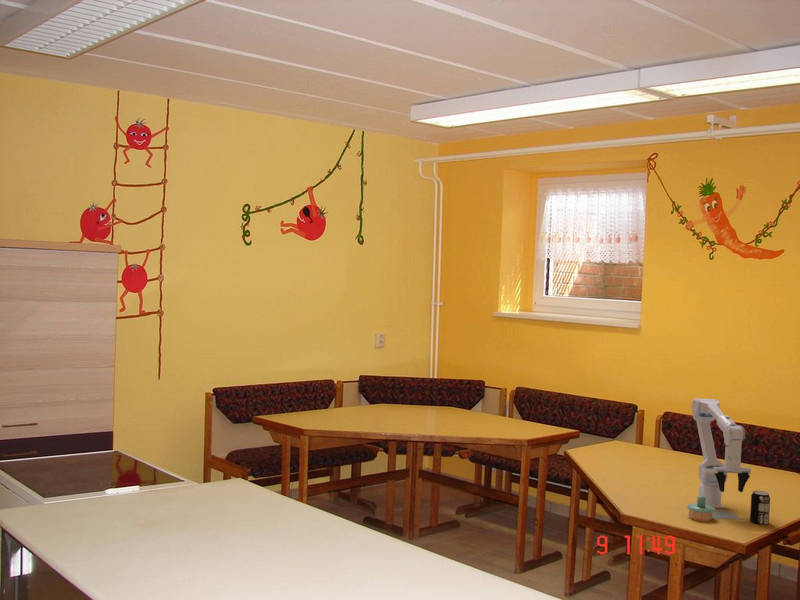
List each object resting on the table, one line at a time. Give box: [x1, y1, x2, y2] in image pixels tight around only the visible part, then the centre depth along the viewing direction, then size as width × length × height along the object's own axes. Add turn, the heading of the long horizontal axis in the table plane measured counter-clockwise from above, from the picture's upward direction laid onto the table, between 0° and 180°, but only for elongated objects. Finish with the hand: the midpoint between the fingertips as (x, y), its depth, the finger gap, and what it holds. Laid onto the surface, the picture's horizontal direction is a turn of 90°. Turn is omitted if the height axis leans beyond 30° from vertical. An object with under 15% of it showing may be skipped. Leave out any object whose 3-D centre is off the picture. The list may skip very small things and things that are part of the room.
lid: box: [686, 495, 716, 513], centre depth 313 cm, size 10×10×5 cm
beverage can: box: [749, 490, 771, 526], centre depth 310 cm, size 7×7×12 cm
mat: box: [712, 508, 743, 520], centre depth 320 cm, size 13×12×1 cm
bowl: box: [688, 509, 713, 522], centre depth 313 cm, size 8×8×4 cm
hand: (731, 491), depth 319 cm, fingers open, 7 cm apart
